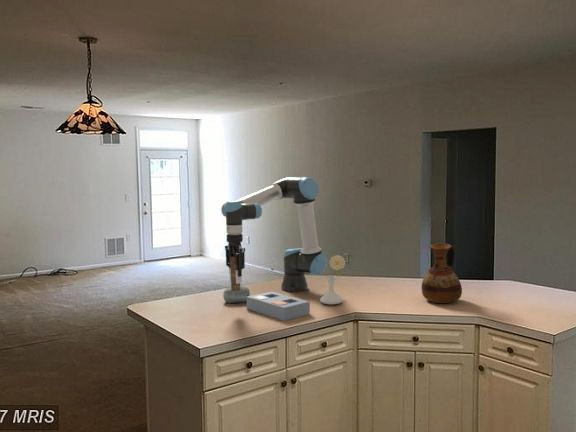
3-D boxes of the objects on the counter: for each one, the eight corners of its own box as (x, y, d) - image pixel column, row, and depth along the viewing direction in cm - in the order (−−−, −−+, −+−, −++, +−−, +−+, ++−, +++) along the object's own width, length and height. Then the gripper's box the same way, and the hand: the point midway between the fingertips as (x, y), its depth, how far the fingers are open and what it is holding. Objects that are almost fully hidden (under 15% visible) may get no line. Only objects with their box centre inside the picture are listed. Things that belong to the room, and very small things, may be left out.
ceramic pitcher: (414, 301, 263) (415, 243, 261) (432, 294, 278) (433, 239, 275) (450, 308, 250) (451, 247, 247) (467, 300, 265) (469, 242, 262)
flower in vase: (317, 305, 257) (317, 255, 255) (323, 299, 267) (323, 252, 265) (342, 307, 252) (342, 257, 250) (348, 302, 263) (348, 253, 261)
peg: (229, 289, 244) (228, 256, 243) (236, 288, 247) (236, 255, 245) (234, 291, 241) (233, 257, 239) (242, 289, 244) (241, 256, 242)
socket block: (246, 308, 251) (246, 296, 251) (271, 302, 262) (271, 290, 261) (283, 320, 230) (283, 307, 230) (309, 314, 241) (309, 300, 240)
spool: (250, 292, 272) (246, 278, 266) (252, 304, 264) (248, 290, 258) (225, 299, 270) (220, 285, 265) (227, 311, 263) (222, 297, 257)
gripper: (217, 232, 245) (218, 280, 248) (238, 236, 232) (240, 286, 235) (230, 231, 250) (231, 278, 253) (252, 234, 237) (253, 283, 240)
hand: (235, 282), depth 244 cm, fingers closed on peg, 4 cm apart
